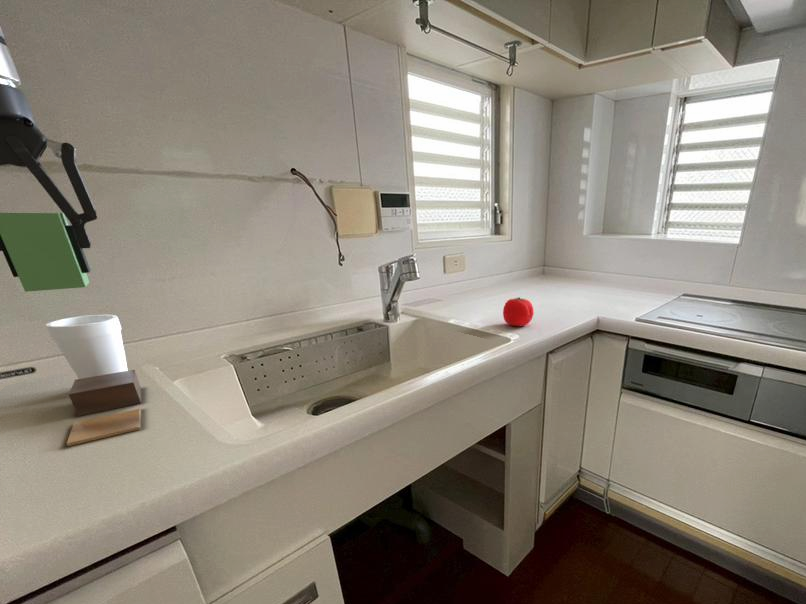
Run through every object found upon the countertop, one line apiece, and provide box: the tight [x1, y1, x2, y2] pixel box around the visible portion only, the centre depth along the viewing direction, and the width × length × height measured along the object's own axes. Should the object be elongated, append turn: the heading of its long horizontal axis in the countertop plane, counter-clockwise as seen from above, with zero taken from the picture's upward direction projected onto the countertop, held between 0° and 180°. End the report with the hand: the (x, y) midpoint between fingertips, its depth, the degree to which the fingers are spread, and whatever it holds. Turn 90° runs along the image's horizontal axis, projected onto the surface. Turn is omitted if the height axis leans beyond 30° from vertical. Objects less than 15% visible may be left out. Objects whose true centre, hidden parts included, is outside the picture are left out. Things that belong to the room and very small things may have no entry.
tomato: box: [502, 297, 535, 327], centre depth 122 cm, size 9×10×8 cm
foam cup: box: [45, 313, 129, 379], centre depth 75 cm, size 10×9×13 cm
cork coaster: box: [66, 408, 142, 447], centre depth 63 cm, size 8×8×1 cm
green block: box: [0, 212, 90, 293], centre depth 57 cm, size 6×6×10 cm
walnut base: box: [68, 369, 142, 417], centre depth 71 cm, size 8×8×4 cm
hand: (54, 273), depth 58 cm, fingers closed on green block, 6 cm apart
